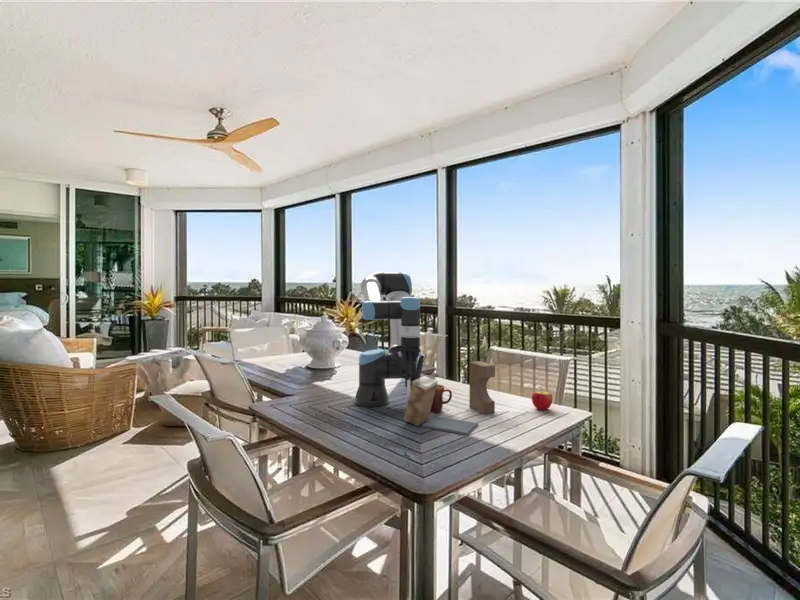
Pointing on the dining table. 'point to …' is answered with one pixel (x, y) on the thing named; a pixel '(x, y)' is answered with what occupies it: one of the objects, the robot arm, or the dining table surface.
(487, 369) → the decorative block
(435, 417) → the mat
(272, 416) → the dining table surface
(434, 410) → the mug
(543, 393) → the apple
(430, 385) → the brown and cream block
